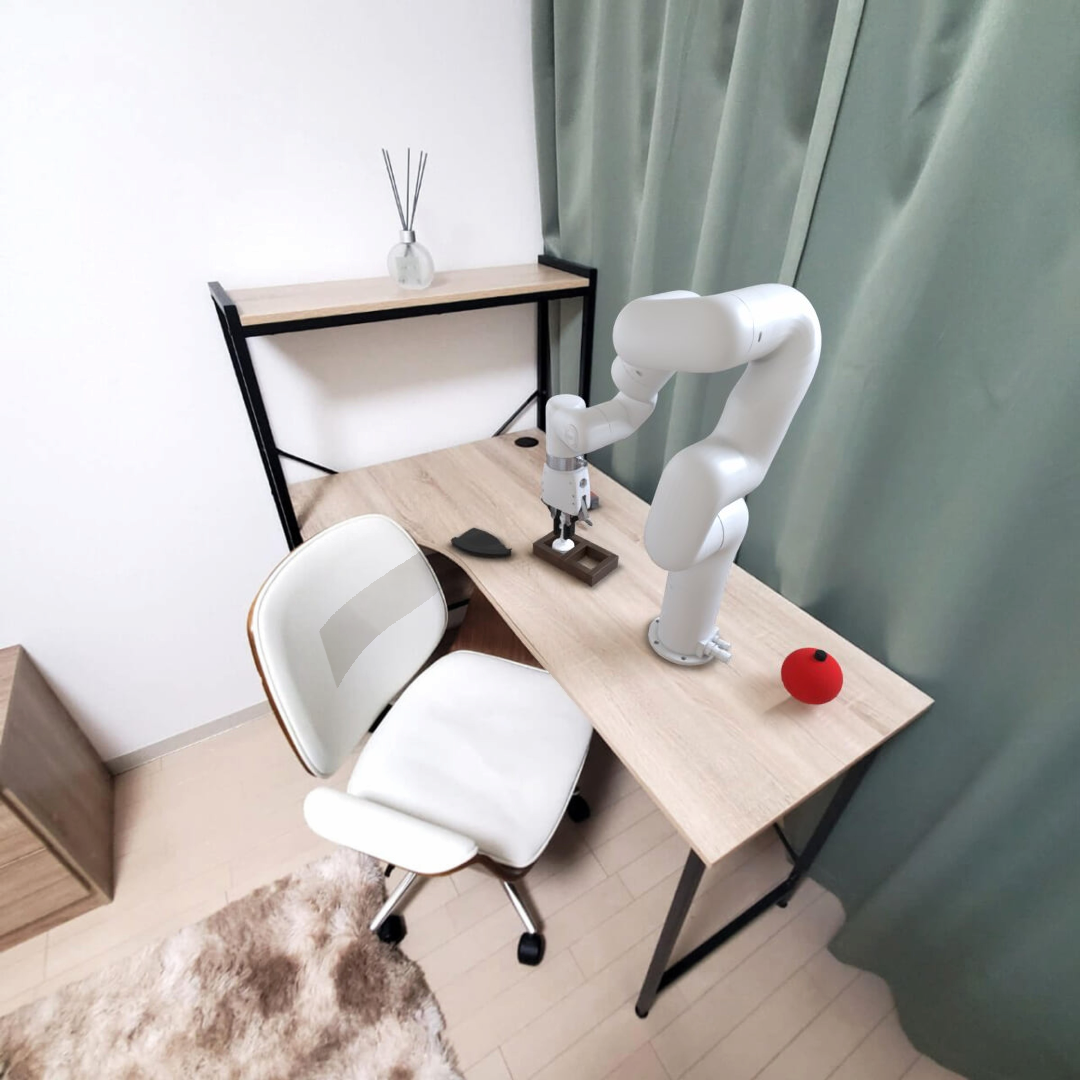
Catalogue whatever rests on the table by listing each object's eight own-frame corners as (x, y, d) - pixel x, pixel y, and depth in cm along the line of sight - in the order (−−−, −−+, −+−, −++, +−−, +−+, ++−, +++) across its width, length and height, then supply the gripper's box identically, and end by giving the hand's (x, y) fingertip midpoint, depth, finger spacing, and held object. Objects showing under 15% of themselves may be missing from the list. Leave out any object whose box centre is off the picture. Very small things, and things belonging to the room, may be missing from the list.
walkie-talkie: (545, 493, 141) (587, 531, 126) (545, 479, 138) (588, 515, 124) (573, 485, 144) (617, 521, 130) (574, 471, 141) (619, 506, 127)
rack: (617, 566, 116) (618, 555, 114) (591, 587, 110) (592, 576, 108) (559, 536, 125) (559, 526, 123) (532, 554, 119) (532, 543, 118)
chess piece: (578, 546, 118) (581, 508, 112) (564, 556, 115) (566, 518, 109) (562, 537, 121) (563, 500, 115) (547, 547, 118) (548, 509, 112)
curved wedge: (493, 569, 115) (493, 563, 114) (449, 546, 122) (448, 540, 121) (518, 550, 120) (517, 544, 119) (474, 529, 127) (474, 524, 126)
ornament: (766, 696, 88) (782, 655, 82) (785, 664, 93) (801, 623, 88) (823, 726, 83) (844, 685, 77) (839, 690, 89) (860, 649, 83)
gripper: (608, 464, 103) (603, 541, 114) (547, 441, 112) (548, 515, 123) (584, 477, 99) (581, 557, 109) (523, 453, 108) (525, 528, 118)
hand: (564, 534), depth 116 cm, fingers closed on chess piece
